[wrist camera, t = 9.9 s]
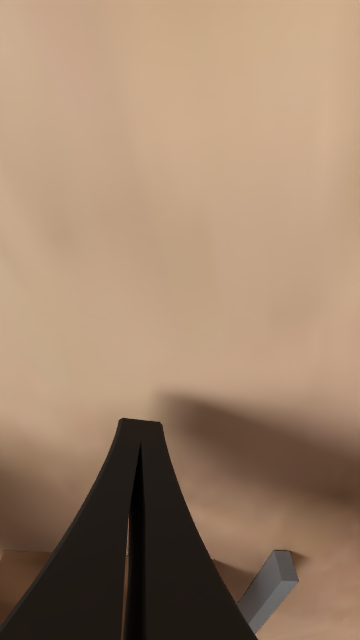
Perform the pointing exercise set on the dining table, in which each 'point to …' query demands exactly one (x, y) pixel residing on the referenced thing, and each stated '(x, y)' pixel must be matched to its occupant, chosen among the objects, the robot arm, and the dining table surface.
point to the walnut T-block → (29, 578)
